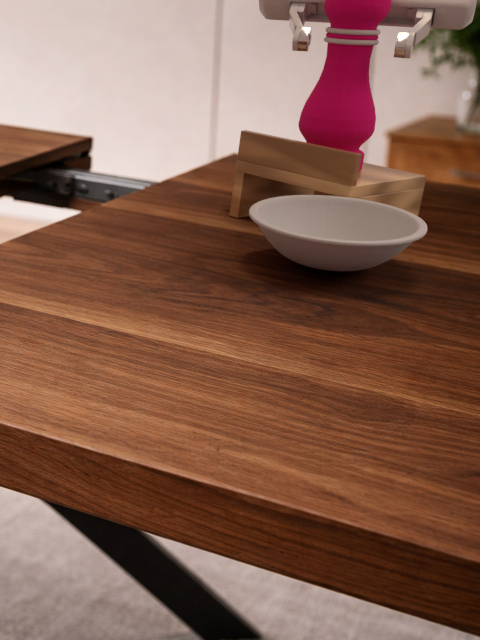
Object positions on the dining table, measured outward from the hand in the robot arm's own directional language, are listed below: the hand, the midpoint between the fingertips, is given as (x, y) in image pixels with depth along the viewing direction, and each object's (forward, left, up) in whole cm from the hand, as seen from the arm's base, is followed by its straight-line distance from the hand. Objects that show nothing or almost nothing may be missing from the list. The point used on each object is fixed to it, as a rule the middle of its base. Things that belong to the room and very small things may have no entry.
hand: (349, 50), depth 92 cm
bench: (-1, 0, -18) cm, 18 cm away
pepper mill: (0, 0, -12) cm, 12 cm away
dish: (+13, +11, -18) cm, 25 cm away
